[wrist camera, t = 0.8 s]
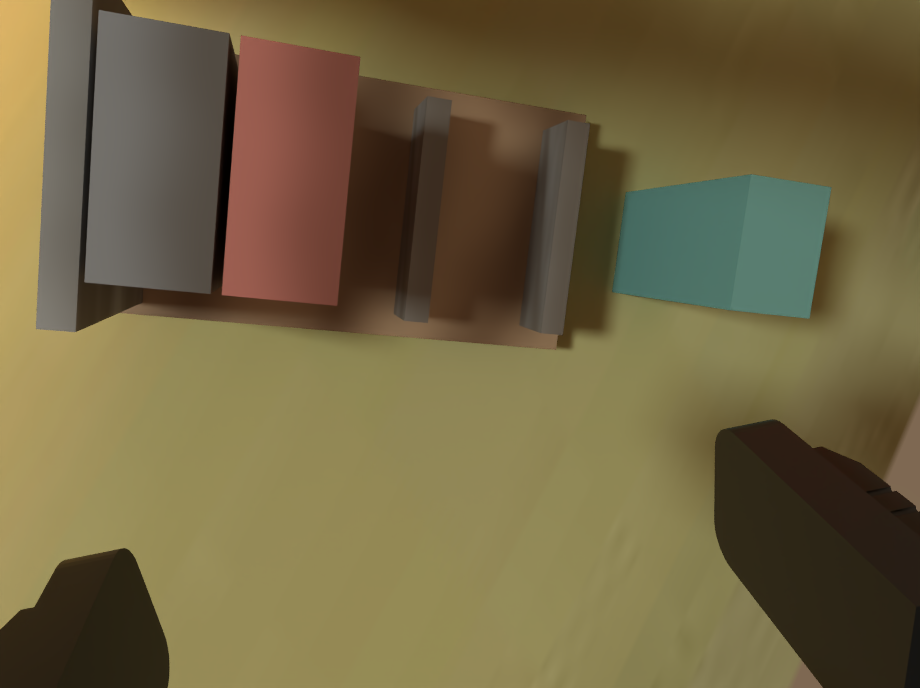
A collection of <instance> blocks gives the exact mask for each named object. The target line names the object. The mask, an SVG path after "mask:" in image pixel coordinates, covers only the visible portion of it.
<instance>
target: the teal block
mask: <svg viewBox="0 0 920 688" xmlns="http://www.w3.org/2000/svg"><path fill="white" fill-rule="evenodd" d="M830 193H831V187H826V186H820V185H814V184H808V183H802V182H795V181H789V180H783V179H777V178H771V177H764V176H758V175H752V174H751V175H744V176H737V177H730V178H723V179H716V180H709V181H702V182H695V183H688V184H681V185H674V186H667V187H660V188H653V189H646V190H639V191H632V192H626V195H625V202H624V209H623V217H622V224H621V231H620V239H619V246H618V253H617V260H616V268H615V275H614V282H613V290H612V292H615V293H622V294H628V295H635V296H641V297H648V298H654V299H661V300H667V301H674V302H680V303H687V304H693V305H700V306H706V307H713V308H719V309H726V310H733V311H743V312H752V313H762V314H771V315H780V316H790V317H799V318H809V317H810V311H811V305H812V300H813V294H814V288H815V282H816V276H817V270H818V264H819V258H820V252H821V246H822V240H823V234H824V228H825V222H826V216H827V210H828V205H829V199H830Z"/></svg>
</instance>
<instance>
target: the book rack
mask: <svg viewBox="0 0 920 688" xmlns="http://www.w3.org/2000/svg"><path fill="white" fill-rule="evenodd" d="M359 66H360V57H358V56H352V55H347V54H341V53H336V52H330V51H325V50H319V49H314V48H308V47H302V46H297V45H291V44H286V43H280V42H275V41H269V40H264V39H258V38H253V37H247V36H241V43H240V55H236V54H235V53H234V49H233V45H232V42H231V38H230V34H229V33H225V32H219V31H214V30H208V29H203V28H197V27H191V26H186V25H180V24H175V23H169V22H164V21H158V20H153V19H147V18H142V17H136V16H132V15H131V13H130V12H129V10H128V9H127V7H126V6H125V4H124V3H123V1H122V0H51V10H50V32H49V54H48V76H47V98H46V120H45V142H44V164H43V186H42V208H41V230H40V252H39V275H38V297H37V319H36V329H43V330H56V331H69V332H77V331H79V330H81V329H84V328H86V327H88V326H90V325H93V324H95V323H97V322H100V321H102V320H104V319H106V318H109V317H111V316H113V315H116V314H118V313H128V314H140V315H152V316H164V317H175V318H187V319H199V320H211V321H223V322H235V323H246V324H258V325H270V326H282V327H294V328H306V329H317V330H329V331H341V332H353V333H365V334H377V335H388V336H400V337H412V338H424V339H436V340H447V341H459V342H471V343H483V344H495V345H507V346H518V347H530V348H542V349H554V350H556V346H557V338H558V335H563V329H564V321H565V314H566V306H567V298H568V290H569V283H570V275H571V267H572V260H573V252H574V244H575V236H576V229H577V221H578V213H579V206H580V198H581V190H582V182H583V175H584V167H585V159H586V152H587V144H588V136H589V128H590V124H589V123H585V121H586V115H582V114H576V113H571V112H565V111H559V110H553V109H547V108H542V107H536V106H530V105H524V104H519V103H513V102H507V101H501V100H496V99H490V98H484V97H478V96H473V95H467V94H461V93H455V92H450V91H444V90H438V89H432V88H426V87H421V86H415V85H409V84H403V83H398V82H392V81H386V80H380V79H375V78H369V77H363V76H359Z"/></svg>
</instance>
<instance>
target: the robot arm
mask: <svg viewBox="0 0 920 688" xmlns="http://www.w3.org/2000/svg"><path fill="white" fill-rule="evenodd" d="M714 523H715V531H716V536H717V539H718V543H719V546H720V549H721V551H722V553H723V556H724V558H725V560H726V561H727V563H728V565H729V566H730V567H731V569H732V570H733V571H734V573H735V574H736V575H737V577H738V578H739V579H740V581H741V582H742V583H743V584H744V586H745V587H746V588H747V590H748V591H749V592H750V594H751V595H752V596H753V597H754V599H755V600H756V601H757V603H758V604H759V605H760V606H761V608H762V609H763V610H764V612H765V613H766V614H767V616H768V617H769V618H770V619H771V621H772V622H773V623H774V625H775V626H776V627H777V629H778V630H779V631H780V632H781V634H782V635H783V636H784V638H785V639H786V640H787V641H788V643H789V644H790V645H791V647H792V648H793V649H794V651H795V652H796V653H797V654H798V656H799V657H800V658H801V660H802V661H803V662H804V664H805V665H806V666H807V667H808V669H809V670H810V671H811V673H812V674H813V675H814V677H815V678H816V679H817V680H818V682H819V683H820V684H821V686H822V687H823V688H920V512H918V511H917V510H916V506H915V505H914V504H913V503H911V502H910V501H909V500H907V499H906V498H905V497H904V496H902V495H901V494H900V493H898V492H897V491H894V492H892V491H891V488H890V486H889V485H888V484H887V483H886V482H884V481H883V480H882V479H880V478H879V477H878V476H876V475H875V474H874V473H873V472H871V471H870V470H869V469H867V468H866V467H865V466H864V465H862V464H861V463H859V462H857V461H854V460H852V459H849V458H847V457H845V456H842V455H840V454H838V453H835V452H833V451H831V450H828V449H826V448H824V447H817V448H812V447H811V446H809V445H808V444H807V443H806V442H804V441H803V440H802V439H801V438H800V437H798V436H797V435H796V434H795V433H794V432H792V431H791V430H790V429H789V428H787V427H786V426H785V425H784V424H782V423H781V422H780V421H777V420H767V421H762V422H757V423H752V424H747V425H742V426H737V427H732V428H727V429H723V430H721V431H720V432H719V433H718V435H717V437H716V442H715V502H714ZM168 681H169V653H168V647H167V642H166V638H165V635H164V632H163V630H162V627H161V624H160V622H159V619H158V617H157V614H156V611H155V609H154V606H153V603H152V601H151V598H150V595H149V593H148V590H147V588H146V585H145V582H144V580H143V577H142V574H141V572H140V569H139V567H138V564H137V562H136V559H135V557H134V556H133V554H132V553H131V552H130V551H129V550H128V549H125V548H123V549H118V550H113V551H108V552H103V553H98V554H93V555H88V556H83V557H78V558H73V559H68V560H64V561H62V562H61V563H60V564H59V565H58V566H57V567H56V569H55V571H54V573H53V574H52V576H51V578H50V580H49V582H48V583H47V585H46V587H45V589H44V591H43V593H42V594H41V596H40V598H39V600H38V602H37V603H36V605H35V607H33V608H28V609H23V610H20V611H19V612H18V613H17V614H16V615H15V616H14V617H13V618H12V619H11V620H10V621H9V622H8V623H7V624H6V625H5V626H4V627H2V628H1V629H0V688H167V687H168Z"/></svg>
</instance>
